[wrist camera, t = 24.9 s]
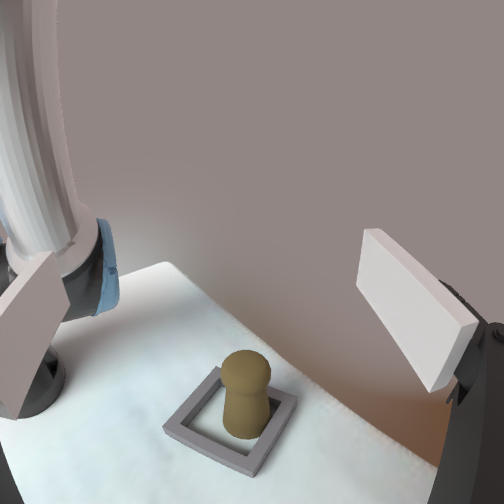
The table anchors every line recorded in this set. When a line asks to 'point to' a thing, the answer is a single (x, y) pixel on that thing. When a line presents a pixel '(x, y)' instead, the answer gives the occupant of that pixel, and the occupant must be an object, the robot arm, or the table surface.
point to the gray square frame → (216, 451)
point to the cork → (246, 394)
